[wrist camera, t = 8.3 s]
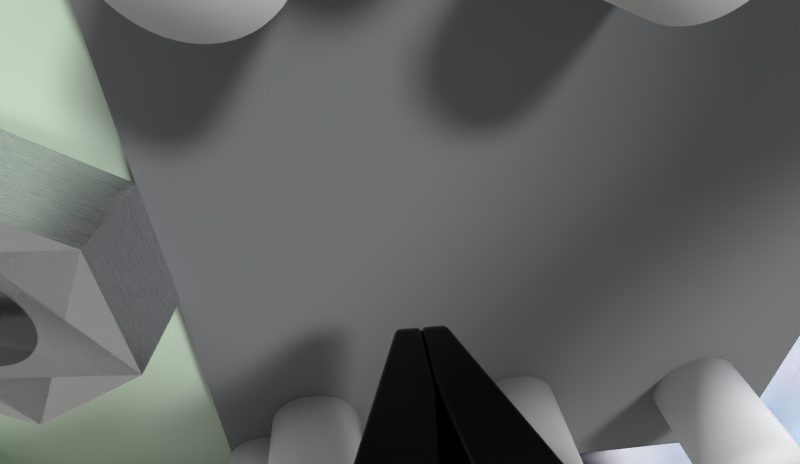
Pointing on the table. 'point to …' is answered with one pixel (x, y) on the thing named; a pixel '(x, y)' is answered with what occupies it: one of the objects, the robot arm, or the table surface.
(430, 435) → the robot arm
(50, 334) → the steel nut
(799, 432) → the table surface
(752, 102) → the spacer field
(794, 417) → the table surface
